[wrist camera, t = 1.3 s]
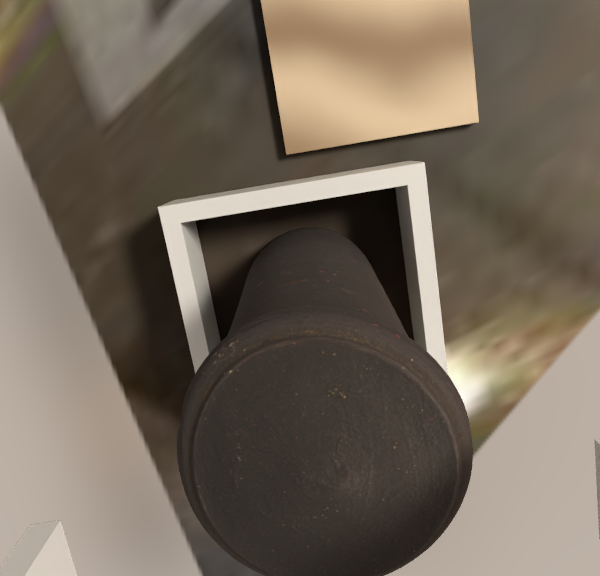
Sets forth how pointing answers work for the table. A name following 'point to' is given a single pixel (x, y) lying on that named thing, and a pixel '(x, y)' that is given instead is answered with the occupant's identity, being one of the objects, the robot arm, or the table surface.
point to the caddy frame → (399, 175)
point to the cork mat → (369, 68)
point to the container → (322, 422)
